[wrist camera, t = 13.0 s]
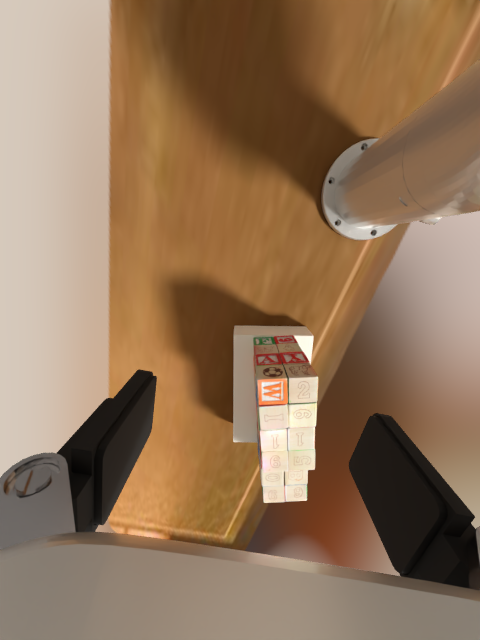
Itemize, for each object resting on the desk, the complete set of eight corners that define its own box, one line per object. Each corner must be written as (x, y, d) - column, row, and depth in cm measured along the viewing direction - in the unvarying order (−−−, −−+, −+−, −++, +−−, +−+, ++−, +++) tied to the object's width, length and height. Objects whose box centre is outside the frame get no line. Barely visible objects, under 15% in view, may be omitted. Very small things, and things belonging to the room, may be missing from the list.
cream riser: (305, 325, 40) (313, 335, 35) (295, 422, 46) (301, 443, 41) (234, 324, 40) (233, 334, 35) (234, 421, 46) (233, 441, 41)
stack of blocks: (293, 447, 42) (313, 526, 30) (257, 449, 42) (263, 528, 30) (293, 334, 35) (319, 377, 24) (251, 336, 36) (257, 380, 24)
